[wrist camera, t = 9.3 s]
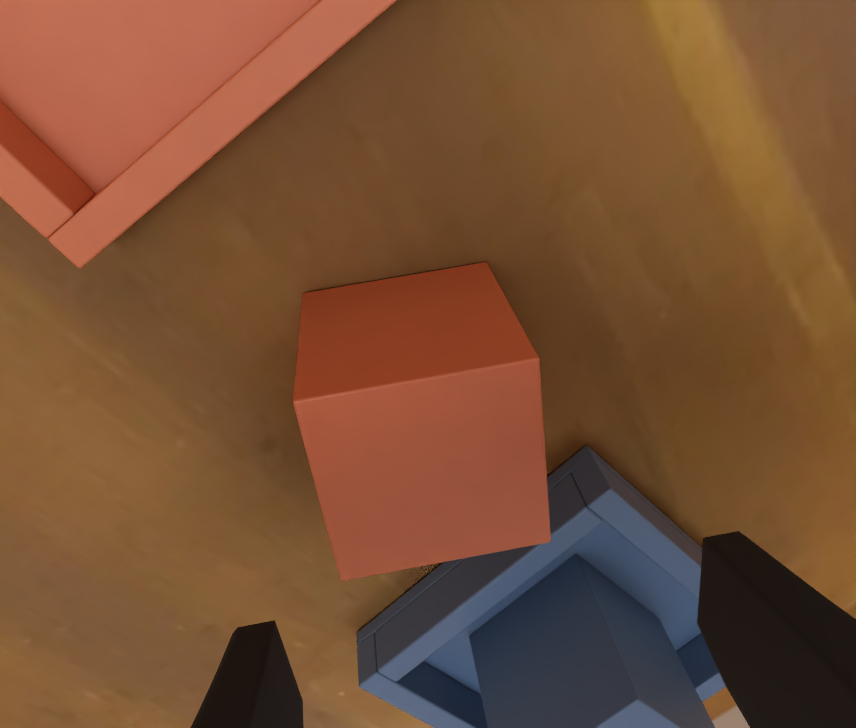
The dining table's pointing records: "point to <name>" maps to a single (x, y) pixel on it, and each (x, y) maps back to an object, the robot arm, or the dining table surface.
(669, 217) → the dining table surface
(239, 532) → the dining table surface
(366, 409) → the terracotta block
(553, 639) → the slate block
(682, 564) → the slate tray
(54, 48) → the terracotta tray
